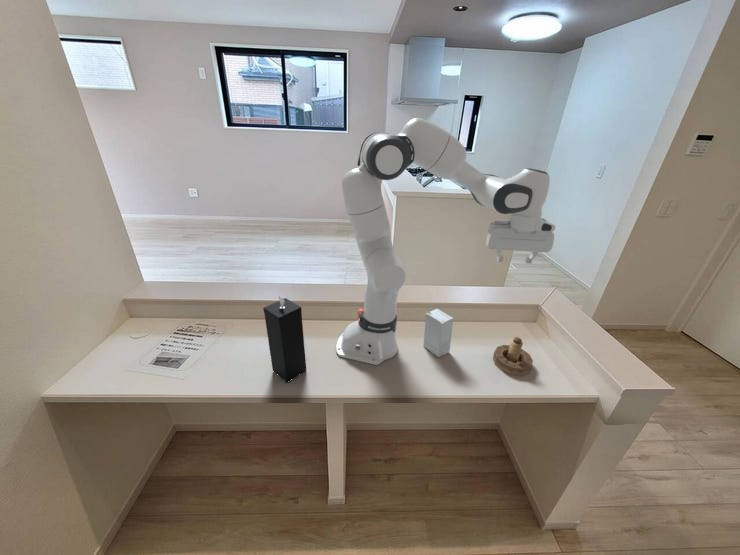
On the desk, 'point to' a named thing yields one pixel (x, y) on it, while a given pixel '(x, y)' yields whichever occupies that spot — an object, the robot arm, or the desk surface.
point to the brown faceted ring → (510, 366)
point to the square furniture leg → (285, 338)
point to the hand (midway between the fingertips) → (513, 262)
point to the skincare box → (438, 332)
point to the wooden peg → (514, 350)
